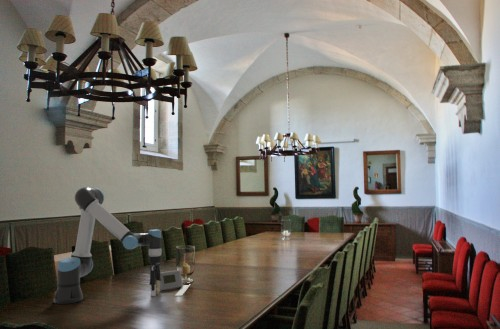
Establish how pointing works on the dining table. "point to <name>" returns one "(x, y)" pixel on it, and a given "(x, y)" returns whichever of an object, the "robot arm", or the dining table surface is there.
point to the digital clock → (170, 280)
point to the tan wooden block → (157, 287)
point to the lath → (182, 290)
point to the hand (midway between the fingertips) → (155, 293)
